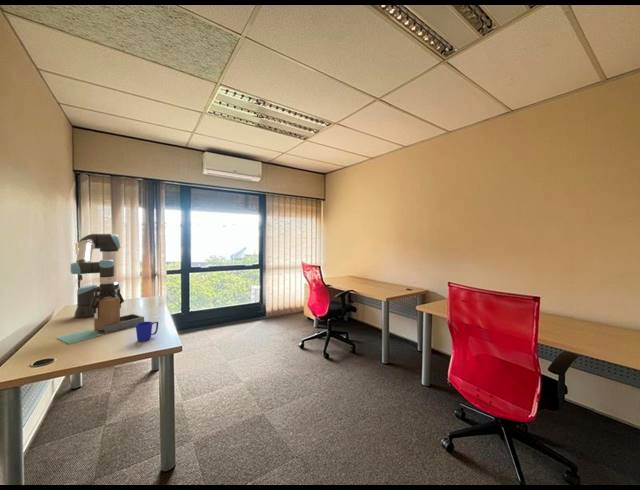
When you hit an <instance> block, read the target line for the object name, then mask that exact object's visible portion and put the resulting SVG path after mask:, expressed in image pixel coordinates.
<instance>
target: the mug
mask: <svg viewBox="0 0 640 490" xmlns="http://www.w3.org/2000/svg"><path fill="white" fill-rule="evenodd" d="M154 324H156V326H155V331H154V332H153V331H152V329H153V325H154ZM158 329H159V321H153V322H152V321H144V322H141V323H138V324H136V326H135V331H136V333H135V334H136V339H137V341H138V342H140V343H141V342H142V343H144V342H147V341H149V340H151V339H152V336H154V335H156V334H157V333H158ZM152 332H153V333H152Z"/></svg>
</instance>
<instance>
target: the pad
mask: <svg viewBox="0 0 640 490" xmlns="http://www.w3.org/2000/svg"><path fill="white" fill-rule="evenodd" d="M99 337H103V334H101V333H99V332H97V331H95V330H92V329H87V330H83V331H79V332H75V333H71V334H66V335H63V336H62V335H61V336H59V337H56V339H57V340H58V341H61V342H63V343H65V344H67V345H72V344H77V343H79V342H83V341H87V340H92V339H95V338H99Z"/></svg>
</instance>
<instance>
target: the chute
mask: <svg viewBox="0 0 640 490" xmlns="http://www.w3.org/2000/svg"><path fill="white" fill-rule="evenodd" d="M141 322H145V316H142V315H138V314H135V313H132V314H126V315H122V316H121V315H120V322H119V323H115V324H111V325H106V326H104V330H103V331H104V333H103V334H104V335H107V334H111V333H115V332H119V331H122V330H126V329H129V328H134V327H136V324H138V323H141ZM93 329H94V328H93ZM93 331H97V330H96V329H94V330H93Z"/></svg>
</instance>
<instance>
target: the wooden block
mask: <svg viewBox="0 0 640 490" xmlns="http://www.w3.org/2000/svg"><path fill="white" fill-rule="evenodd" d="M97 301H99V300H98V299H96V301H95V303H96V302H97ZM95 303H94V304H95ZM96 308H98V318H97V319H96V318H93V320H94V321H93V324H94V325H93V326H94V327H93V329H96V330H95V331H99V330H100V331H104V326H106V325H111V324H115V323H119V322H120V317H121V308H120V298H119V297H106V298H105V297H104V298H103V299H101V300H100V301H99V305H98V306H97V307H96Z"/></svg>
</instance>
